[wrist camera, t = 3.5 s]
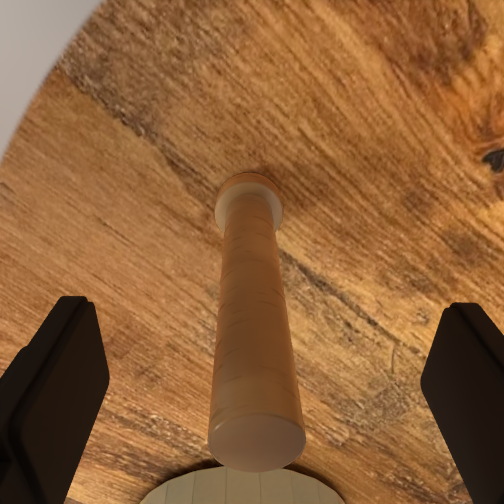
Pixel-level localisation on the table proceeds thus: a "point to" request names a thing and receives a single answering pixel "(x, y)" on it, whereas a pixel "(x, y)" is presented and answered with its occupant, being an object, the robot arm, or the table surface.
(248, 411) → the rod
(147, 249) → the table surface
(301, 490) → the bowl
